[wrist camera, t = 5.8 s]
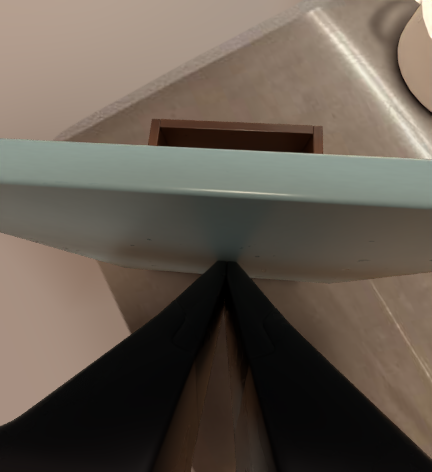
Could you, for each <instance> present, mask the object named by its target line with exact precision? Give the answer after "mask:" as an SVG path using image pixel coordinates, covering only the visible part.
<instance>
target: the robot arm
mask: <svg viewBox="0 0 432 472" xmlns="http://www.w3.org/2000/svg"><path fill="white" fill-rule="evenodd" d="M224 299H225V300H224ZM223 310H224V316H225V328H226V340H227V352H228V364H229V376H230V389H231V401H232V413H233V425H234V432H235V433H234V437H235V453H236V472H432V459H431V458H430V457H429V456H428V455H427V454H426V453H424V452H423V451H422V450H421V449H420V448H419V447H418V446H417V445H416V444H415V443H414V442H413V441H412V440H411V439H410V438H409V437H408V436H407V435H406V434H405V433H403V432H402V431H401V430H400V429H399V428H398V427H397V426H396V425H395V424H394V423H393V422H392V421H391V420H390V419H389V418H388V417H387V416H386V415H385V414H383V413H382V412H381V411H380V410H379V409H378V408H377V407H376V406H375V405H374V404H373V403H372V402H371V401H370V400H369V399H368V398H367V397H366V396H365V395H364V394H362V393H361V392H360V391H359V390H358V389H357V388H356V387H355V386H354V385H353V384H352V383H351V382H350V381H349V380H348V379H347V378H346V377H345V376H344V375H343V374H341V373H340V372H339V371H338V370H337V369H336V368H335V367H334V366H333V365H332V364H331V363H330V362H329V361H328V360H327V359H326V358H325V357H324V356H323V355H322V354H320V353H319V352H318V351H317V350H316V349H315V348H314V347H313V346H312V345H311V344H310V343H309V342H308V341H307V340H306V339H305V338H304V337H303V336H302V335H301V334H300V333H299V332H298V331H297V330H296V329H295V328H294V327H293V326H292V325H291V324H290V323H289V322H288V321H287V320H286V319H285V318H284V317H283V315H282V314H281V313H280V312H279V311H278V310H277V308H275V307H274V305H273V304H272V303H271V302H270V301H269V299H268V298H267V297H266V296H265V295H264V294H263V292H262V291H261V290H260V289H259V288H258V286H257V285H256V284H255V283H254V282H253V281H252V279H251V278H250V277H249V276H248V275H247V273H246V272H245V271H244V270H243V269H242V268H241V266H240V265H239V264H238V263H237V262H234V261H228V262H226V261H220V260H218V261H216V262H215V263H214V264H213V265H212V266H211V267H210V268H209V269H208V270H207V271H206V272H204V273H203V274H202V275H201V276H200V277H199V278H198V279H197V280H196V281H195V282H194V283H193V284H192V285H190V286H189V287H188V288H187V289H186V290H185V291H184V292H183V293H182V294H181V295H180V296H179V297H178V298H176V300H174V301H173V302H172V303H171V304H170V305H168V306H167V307H166V308H165V309H164V310H163V311H162V312H160V313H159V314H158V315H157V316H155V317H154V318H153V319H151V320H150V321H149V322H148V323H146V324H145V325H144V326H142V327H141V328H139V329H138V330H137V331H135V332H134V333H133V334H131V335H130V336H129V337H127V338H126V339H124V340H123V341H122V342H120V343H119V344H118V345H116V346H115V347H114V348H112V349H111V350H110V351H108V352H107V353H105V354H104V355H103V356H101V357H100V358H99V359H97V360H96V361H94V362H93V363H92V364H90V365H89V366H88V367H86V368H85V369H83V370H82V371H81V372H79V373H78V374H77V375H75V376H74V377H73V378H71V379H70V380H68V381H67V382H66V383H64V384H63V385H62V386H60V387H59V388H58V389H56V390H55V391H53V392H52V393H51V394H49V395H48V396H47V397H45V398H44V399H43V400H41V401H40V402H38V403H37V404H36V405H34V406H33V407H32V408H30V409H29V410H28V411H26V412H25V413H23V414H22V415H21V416H19V417H17V418H16V419H14V420H13V421H11V422H9V423H7V424H4V425H2V426H0V472H191V467H192V461H193V455H194V449H195V444H196V439H197V434H198V428H199V424H200V420H201V415H202V410H203V405H204V401H205V396H206V391H207V386H208V382H209V377H210V372H211V368H212V363H213V358H214V353H215V349H216V344H217V339H218V334H219V330H220V325H221V320H222V315H223Z"/></svg>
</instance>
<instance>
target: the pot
mask: <svg viewBox="0 0 432 472" xmlns="http://www.w3.org/2000/svg"><path fill="white" fill-rule="evenodd" d="M415 1H416V2H418V3H419V4H420V6H419V8H418V9H417V10H416V12H415V13H414V15H413V16H412V18H411V19H410V20H409V22H408V23H407V25H406V26H405V28H404V30H403V32H402V34H401V36H400V40H399V45H398V63H399V67H400V70H401V74H402V77H403V78H404V80H405V82H406V84H407V86H408V87H409V89H410V91H411V92H412V93H413V94H414V95H415V97H416V98H417V99H418V100H419V101H420V103H422V104H423V105H424V106H425V107H426V108H427V109H429V110H430V111H431V112H432V0H415Z"/></svg>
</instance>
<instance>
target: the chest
mask: <svg viewBox="0 0 432 472" xmlns="http://www.w3.org/2000/svg"><path fill="white" fill-rule="evenodd" d="M148 146H167V147H188V148H209V149H229V150H250V151H270V152H291V153H312V154H323V131H322V126H312V125H289V124H265V123H241V122H218V121H194V120H171V119H152V123H151V129H150V135H149V142H148Z"/></svg>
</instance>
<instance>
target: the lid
mask: <svg viewBox="0 0 432 472" xmlns="http://www.w3.org/2000/svg"><path fill="white" fill-rule="evenodd" d="M0 232H1V233H4V234H8V235H12V236H15V237H19V238H22V239H26V240H30V241H33V242H36V243H40V244H43V245H47V246H50V247H54V248H58V249H61V250H64V251H68V252H72V253H75V254H79V255H82V256H86V257H89V258H93V259H96V260H100V261H103V262H107V263H110V264H114V265H117V266H121V267H124V268H133V269H146V270H159V271H172V272H185V273H198V274H203V273H204V272H206V271H207V270H208V269H209V268H210V267H211V266H212V265H213V264H214V263H215V262H216V261H218V260H220V261H226V262H228V261H234V262H237V263H238V264H239V265H240V266H241V268H242V269H243V270H244V271H245V272H246V273H247V275H248V276H249V277H250V278H263V279H276V280H289V281H302V282H315V283H328V284H330V283H339V282H348V281H357V280H366V279H374V278H383V277H392V276H401V275H410V274H419V273H428V272H432V159H415V158H394V157H373V156H353V155H332V154H312V153H291V152H270V151H250V150H229V149H209V148H188V147H167V146H147V145H126V144H106V143H85V142H64V141H44V140H22V139H3V138H1V139H0Z"/></svg>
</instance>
